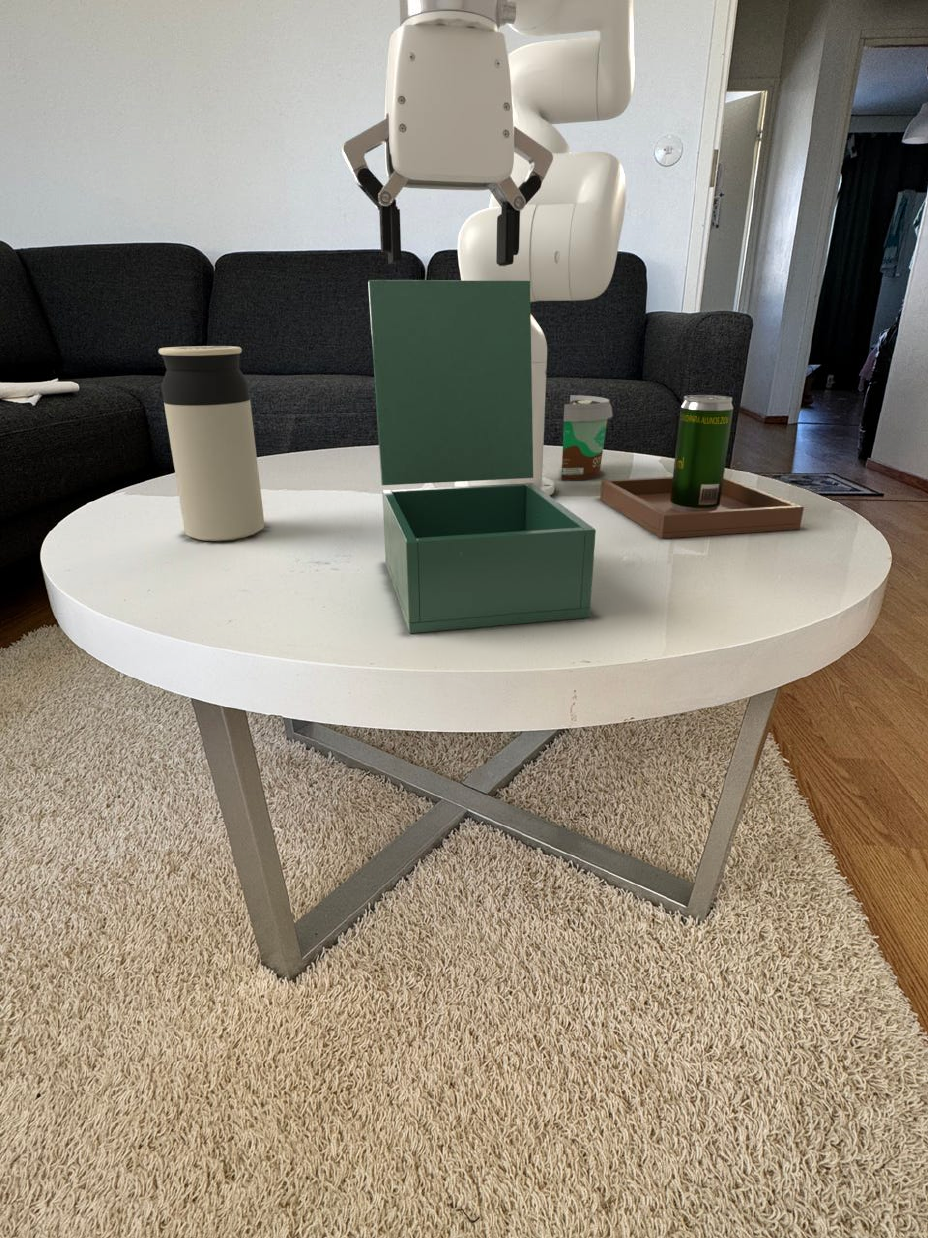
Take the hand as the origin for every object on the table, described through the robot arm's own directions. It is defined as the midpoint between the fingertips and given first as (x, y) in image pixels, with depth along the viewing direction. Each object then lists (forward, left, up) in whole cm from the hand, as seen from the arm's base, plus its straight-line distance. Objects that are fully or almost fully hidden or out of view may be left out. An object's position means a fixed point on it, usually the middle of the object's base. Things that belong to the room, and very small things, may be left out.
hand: (450, 263), depth 62 cm
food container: (-28, +25, -25) cm, 45 cm away
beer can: (-5, +29, -24) cm, 38 cm away
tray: (-5, +29, -25) cm, 38 cm away
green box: (+13, 0, -25) cm, 28 cm away
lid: (+4, 0, -9) cm, 10 cm away
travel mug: (-9, -22, -25) cm, 35 cm away
